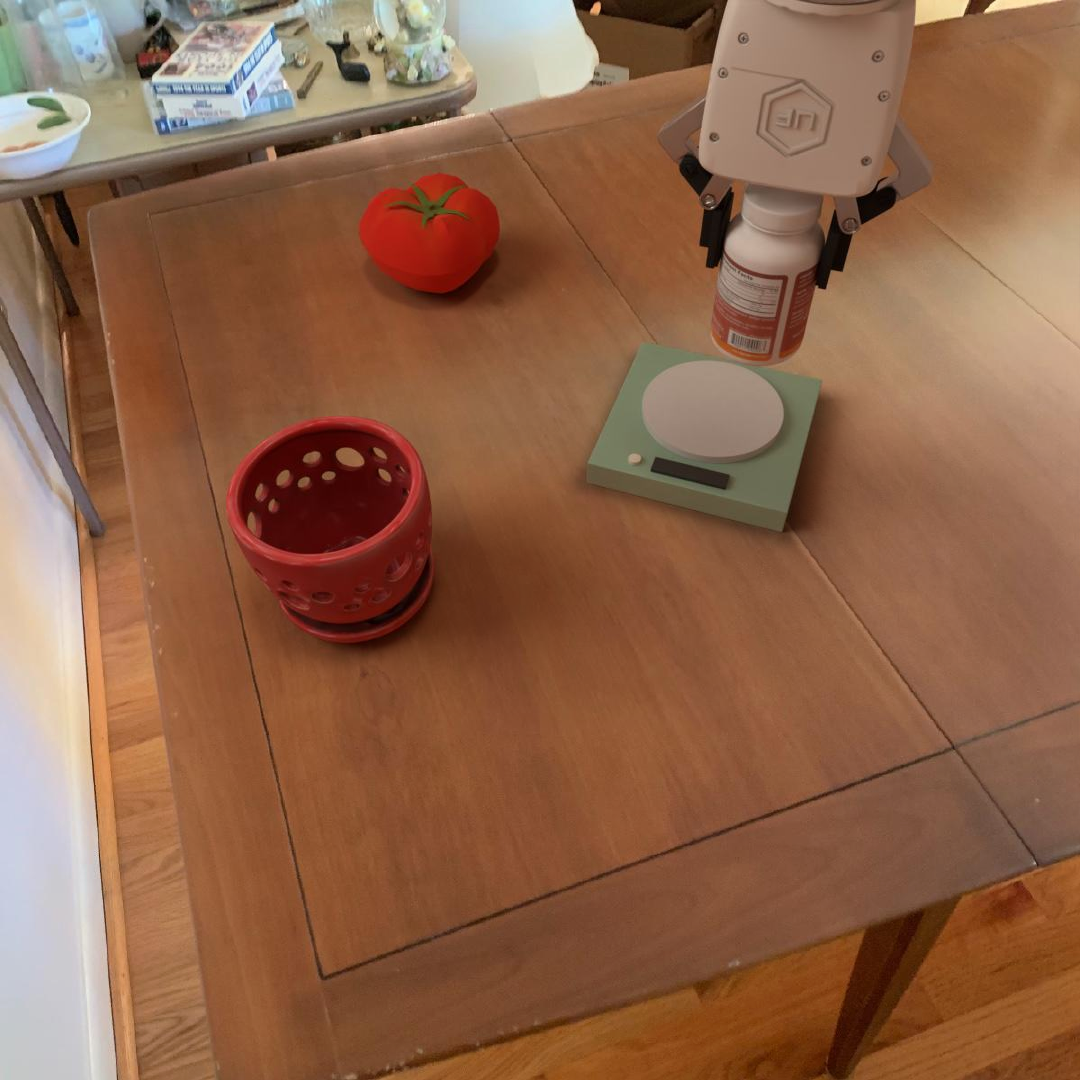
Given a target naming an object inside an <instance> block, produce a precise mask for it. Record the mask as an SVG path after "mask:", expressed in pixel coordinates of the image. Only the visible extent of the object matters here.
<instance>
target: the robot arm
mask: <svg viewBox="0 0 1080 1080" xmlns="http://www.w3.org/2000/svg"><path fill="white" fill-rule="evenodd" d="M916 7H917V0H727V2H726V4H725V9H724V12H723V16H722V19H721V23H720V26H719V31H718V36H717V40H716V44H715V49H714V53H713V59H712V64H711V70H710V74H709V81H708V86H707V90H706V91H705V92H703V93H702V94H701V95H699V96H698V97H697V98H695V99H693V101H691V102H690V103H688V104H687V105H686V106H684V107H683V108H682V109H680V110H679V111H678V112H676V113H675V114H674V115H672V116H671V117H670V118H668V119H667V120H666V121H665V122H664V123H663V124H662V126H661V128H660V129H659V132H658V133H657V137H656V138H657V142H658V144H659V146H661V148H662V149H663V150H664V151H665V153H666V154H667V155H668V156H669V158H670V159H671V160H672V162H673V163H675V164H676V165H677V167H678V170H679V173H680V174H681V176H682V177H683V178H684V180H685V181H686V182H687V184H688V185H689V186H690V187H691V188H692V190H693V191H694V192H695V194H696V195H697V196H698V203H699V205H700V207H701V208H702V209H703V213H702V221H701V226H700V227H701V228H700V234H699V235H700V236H699V244H698V246H699V247H701V248H702V247H703V248H707V253H706V261H705V268H707V269H712V270H714V269H715V268H719V265H720V260H721V253H722V247H723V240H724V235H725V231H726V228H727V226H728V224H729V223H730V221H731V218H732V217H731V216H732V211H733V203H734V199H735V192H734V191H733V186H732V185H733V183H734V181H736V182H740V183H746V184H747V183H751V184H757V185H763V186H769V187H775V188H781V189H787V190H793V191H799V192H805V193H812V194H818V195H824V197H825V196H826V197H832V198H833V203H834V204H833V205H834V209H833V213H832V216H831V220H830V224H829V227H828V230H827V231H828V232H827V236H826V238H825V247H824V251H823V255H822V259H821V263H820V267H819V271H818V275H817V279H816V283H815V286H816V287H817V289H819V290H827V288H828V285H829V280H830V276H831V272H832V271H834V272H840V273H843V272H844V269H845V265H846V262H847V257H848V254H849V249H850V246H851V243H852V239H853V235H854V234H856V233H858V231H860V229H861V226H862V225H864V224H866V223H868V222H869V221H871V220H873V219H875V218H877V217H879V216H880V215H882V214H884V213H886V212H887V211H889V210H891V209H892V208H893V207H894V206H895V204H896V203H898V202H900V201H905V199H907V198H909V197H911V196H912V195H914V194H916V193H917V192H919V191H921V190H923V189H925V188H926V187H928V186H929V185H930V184H931V182H932V179H933V171H934V165H933V163H932V161H931V160H930V158H929V157H928V155H927V154H926V153H925V151H924V150H923V148H922V146H921V145H920V143H919V142H918V141H917V139H916V138H915V137H914V135H913V134H912V132H911V131H910V129H909V128H908V126H907V125H906V124H905V122H904V120H903V119H902V118H901V116H900V114H899V110H900V106H901V105H900V104H901V100H902V97H903V92H904V87H905V83H906V79H907V75H908V68H909V63H910V58H911V52H912V47H913V39H914V31H915V23H916V12H917V11H916V10H917V9H916ZM698 130H700V134H699V141H698V145H696V143H695V140H694V139H693V138H692V135H693V134H695V133H696V132H697V131H698ZM887 156H888V157H889V159H890V160H891V161H892V163H893V164H894V166H895V167H896V168H897V170H896V171H894V172H893V173H892V174H891V175H890V176H884V177H882V178H880V177H881V175H882V172H883V169H884V165H885V164H886V160H887Z"/></svg>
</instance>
